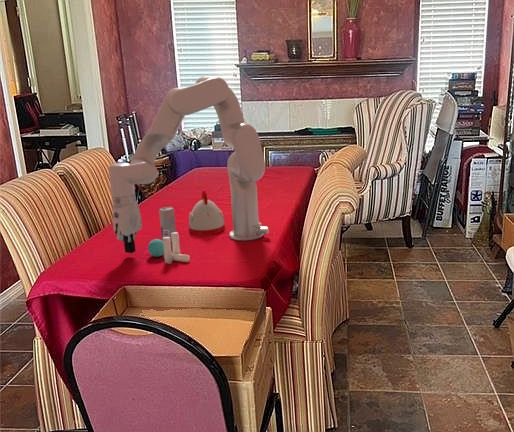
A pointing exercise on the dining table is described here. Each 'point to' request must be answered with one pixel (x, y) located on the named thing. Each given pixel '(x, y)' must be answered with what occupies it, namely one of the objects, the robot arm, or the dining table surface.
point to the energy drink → (167, 221)
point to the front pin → (180, 257)
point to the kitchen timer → (205, 217)
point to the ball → (156, 247)
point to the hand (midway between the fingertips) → (130, 251)
